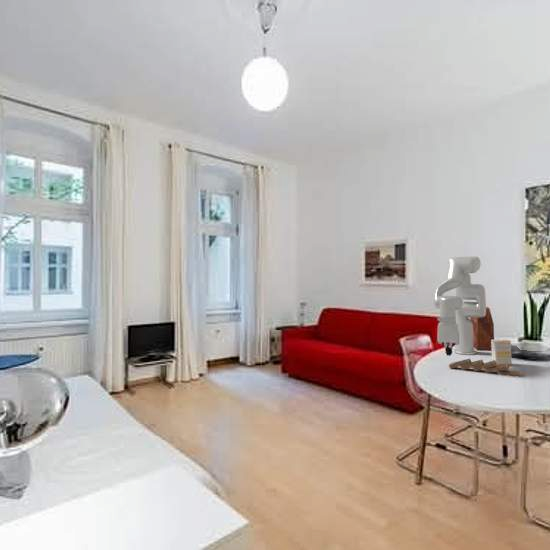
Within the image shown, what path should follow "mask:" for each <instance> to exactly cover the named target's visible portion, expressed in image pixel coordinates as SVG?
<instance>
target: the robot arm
mask: <svg viewBox="0 0 550 550" xmlns="http://www.w3.org/2000/svg"><path fill="white" fill-rule="evenodd" d="M447 264H448V268H447V272H446V277H445V278H446V279H445V280H444V281H443V282H442V283H441V284H440V285H439V286H438V287H436V290H435V292H434V297H433V305H434V308H435V309H437V310H439V317H437V321H439V322H438V324H437V334H436V335H437V343H438V344H440V345H442V346H443V347H444V348H445V349H444V350H445V354H446V356H449V357H450V356H452V355H453V352H454V353H455V354H459V355H466V356H467V355H469V356H470V355H471V356H472V355H476V354H478V350H476V349H475V348H474V332H473V323H472V322H471V320H470V317H475V318H482V317H484V316H485V315H486V307H487V302H486V301H487V299H486V289H485V286H484V285H483V284H479V283H472V281H471V278H472V277H471V274H475V273H477V272H478V271H479V270H480V268H481V266H482V265H481V259H480V257H478V256H459V257H458V256H457V257H455V256H454V257H451V258H449V259H448V261H447ZM454 289H455V294H456V295H444V294H445V293H447V292H449V291H452V290H454ZM464 300H466V301H464ZM469 300H471V301H469ZM472 300H473V301H472ZM453 347H455V348H456V349H454V350H453Z"/></svg>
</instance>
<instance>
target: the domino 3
mask: <svg viewBox="0 0 550 550" xmlns="http://www.w3.org/2000/svg"><path fill="white" fill-rule="evenodd" d="M496 365H497V363H496V361H495V360H494V361H492V360H491V361H488V362H484V364H483V365H481V366H477V367H473V368H472V369H473V371H474V372H478V371H482V370H484V369H486V368H490V367H494V366H496Z"/></svg>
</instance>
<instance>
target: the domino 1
mask: <svg viewBox="0 0 550 550" xmlns="http://www.w3.org/2000/svg"><path fill="white" fill-rule="evenodd" d="M471 362H472V360H471V358H466V359H463V360H457V361H455V362H451V363H449V364H448V367H449V369H450V368H452V369H454V368H459V367H460V366H464V365H468V364H470V363H471ZM460 368H461V367H460Z"/></svg>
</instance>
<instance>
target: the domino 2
mask: <svg viewBox="0 0 550 550" xmlns="http://www.w3.org/2000/svg"><path fill="white" fill-rule="evenodd" d="M484 363H485V362H484V361H483V359H478V360H474V361H471V363H470V364H468V365H464V366H460V369H461V370H462V371H465V370H468V369H473V367H477V366H481V365H483V364H484Z"/></svg>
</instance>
